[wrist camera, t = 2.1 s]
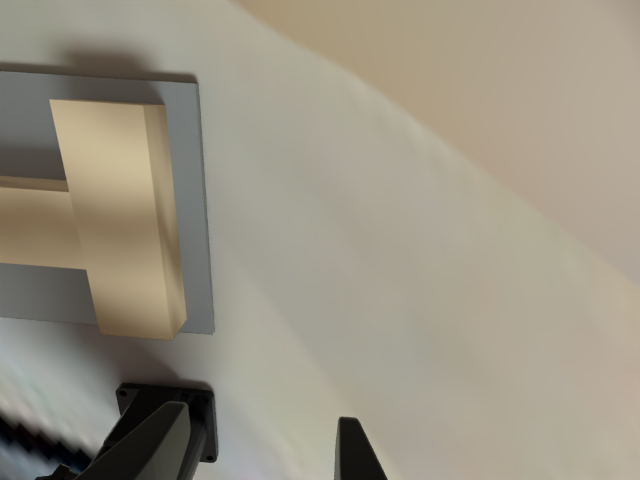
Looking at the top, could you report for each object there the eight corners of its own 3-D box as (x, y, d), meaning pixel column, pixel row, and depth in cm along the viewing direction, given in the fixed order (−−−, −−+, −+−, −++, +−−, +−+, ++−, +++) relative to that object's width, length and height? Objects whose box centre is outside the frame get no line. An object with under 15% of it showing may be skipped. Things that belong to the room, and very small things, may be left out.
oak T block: (186, 319, 21) (172, 340, 19) (-8, 303, 21) (-41, 322, 19) (165, 104, 16) (142, 105, 15) (-82, 88, 17) (-135, 87, 15)
